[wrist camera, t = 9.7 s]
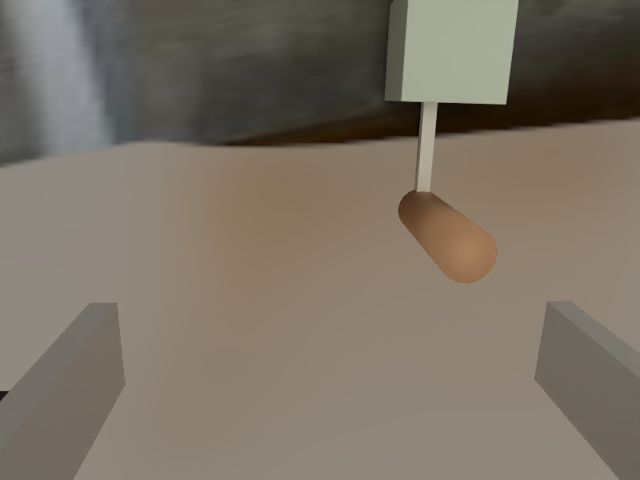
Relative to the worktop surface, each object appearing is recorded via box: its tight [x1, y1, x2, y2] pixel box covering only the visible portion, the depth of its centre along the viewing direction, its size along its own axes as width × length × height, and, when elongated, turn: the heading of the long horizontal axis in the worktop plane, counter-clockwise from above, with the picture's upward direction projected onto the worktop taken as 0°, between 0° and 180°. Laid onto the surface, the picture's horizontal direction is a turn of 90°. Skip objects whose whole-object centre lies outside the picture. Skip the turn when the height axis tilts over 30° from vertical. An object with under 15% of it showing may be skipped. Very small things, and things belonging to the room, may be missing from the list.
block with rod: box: [384, 0, 519, 283], centre depth 29 cm, size 6×15×11 cm, turn 178°
